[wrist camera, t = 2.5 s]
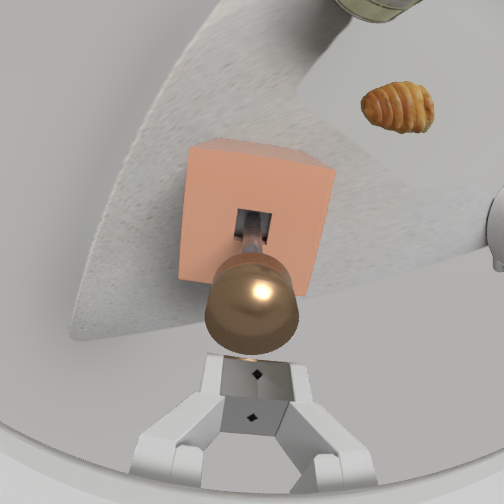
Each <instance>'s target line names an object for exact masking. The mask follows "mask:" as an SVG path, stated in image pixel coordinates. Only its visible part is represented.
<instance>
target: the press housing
mask: <svg viewBox="0 0 504 504" xmlns="http://www.w3.org/2000/svg"><path fill="white" fill-rule="evenodd" d="M335 173H336V170H335V169H333V168H331V167H329V166H328V165H326V164H324V163H322V162H321V161H319V160H317V159H315V158H313V157H311V156H310V155H308V154H306V153H304V152H302V151H299V150H293V149H288V148H282V147H277V146H271V145H265V144H258V143H252V142H245V141H238V140H230V139H223V138H215V139H212V140H209V141H206V142H203V143H200V144H197V145H194V146H191V147H190V150H189V158H188V166H187V175H186V185H185V195H184V206H183V217H182V230H181V243H180V259H179V276H178V279H182V280H188V281H195V282H201V283H208V284H212V281H213V277H214V274H215V272H216V271H217V269H218V268H219V266H220V265H221V264H222V263H223V262H224V261H226V260H227V259H229V258H230V257H232V256H235V255H237V254H241V253H242V243H243V238H241V237H234V232H235V225H236V218H237V212H238V208H239V209H246V210H253V211H260V212H266V213H271V217H270V222H269V227H268V233H267V238H266V241H262V247H263V253H264V254H267V255H270V256H272V257H274V258H275V259H277V260H278V261H279V262H281V263H282V264H283V265H284V266H285V268H286V269H287V271H288V272H289V274H290V277H291V280H292V285H293V289H294V294H295V295H296V296H306V293H307V289H308V286H309V282H310V278H311V274H312V271H313V267H314V263H315V259H316V255H317V251H318V247H319V243H320V239H321V235H322V231H323V227H324V223H325V218H326V214H327V210H328V205H329V201H330V196H331V192H332V187H333V183H334V178H335Z"/></svg>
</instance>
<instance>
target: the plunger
mask: <svg viewBox="0 0 504 504" xmlns="http://www.w3.org/2000/svg"><path fill="white" fill-rule="evenodd" d="M270 217H271V213H266V212H260V211H253V210H246V209H239V208H238V212H237V218H236V225H235V232H234V237H241V238H243V243H242V253H241V254H237V255H235V256H232V257H230V258H229V259H227V260H226V261H224V262H223V263H222V264H221V265H220V266H219V268H218V269H217V271H216V272H215V274H214V277H213V281H212V285H211V289H210V293H209V297H208V301H207V306H206V310H205V323H206V326H207V329H208V331H209V333H210V335H211V336H212V338H213V339H214V340H215V341H216V342H217V343H218V344H220V345H221V346H223V347H224V348H226V349H228V350H230V351H233V352H236V353H239V354H245V355H258V354H264V353H268V352H271V351H273V350H276V349H278V348H279V347H281V346H283V345H284V344H285V343H287V342H288V341H289V340H290V338H291V337H292V336H293V335H294V333H295V331H296V329H297V325H298V322H299V312H298V308H297V303H296V298H295V294H294V289H293V285H292V280H291V277H290V274H289V272H288V271H287V269H286V268H285V266H284V265H283V264H282V263H281V262H279V261H278V260H277V259H275V258H274V257H272V256H270V255H267V254H264V253H263V247H262V241H266V238H267V233H268V227H269V222H270Z"/></svg>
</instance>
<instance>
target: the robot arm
mask: <svg viewBox="0 0 504 504" xmlns="http://www.w3.org/2000/svg"><path fill="white" fill-rule="evenodd" d="M487 241H488V245H489V248H490V250H491V253H492V255H493V268H494V270H496V271H497V272H504V186H503V187H502V188H501V190H500V191H499V192H498V194H497V196H496V197H495V199H494V202H493V204H492V207H491V210H490V213H489V217H488V223H487ZM220 432H228V433H241V434H253V435H263V436H275V438H276V440H277V441H278V443H279V444H280V445H281V447H282V448H283V450H284V451H285V452H286V454H287V455H288V457H289V458H290V459H291V461H292V462H293V463H294V464H295V466H296V467H297V469H298V470H299V471H300V473H301V474H302V476H301V477H300V479H299V480H298V481H297V483H296V484H295V485H294V487H293V488H292V489H291V490H290V494H260V493H240V492H228V491H218V490H209V489H202V488H200V486H201V474H202V462H203V451H204V450H205V449H206V448H207V447H208V446H209V445H210V443H211V442H212V441H213V440H214V439H215V438H216V436H218V434H219V433H220ZM0 504H504V448H502V449H500V450H498V451H495V452H493V453H491V454H488V455H486V456H483V457H481V458H478V459H475V460H473V461H470V462H467V463H465V464H462V465H459V466H456V467H453V468H450V469H447V470H443V471H440V472H436V473H433V474H429V475H426V476H422V477H417V478H413V479H409V480H405V481H400V482H395V483H390V484H385V485H379V486H378V483H377V479H376V475H375V471H374V467H373V464H372V460H371V456H370V453H369V450H368V449H367V448H366V447H365V446H363V444H361V443H360V442H359V441H358V440H357V439H356V438H355V437H354V436H353V435H352V434H350V433H349V432H348V431H347V430H346V429H345V428H344V427H343V426H342V425H341V424H340V423H339V422H338V421H337V420H336V419H335V418H333V417H332V416H331V415H330V414H329V413H328V412H327V411H326V410H325V409H324V408H323V407H322V406H321V405H320V404H319V403H313V398H312V393H311V387H310V382H309V377H308V372H307V367H306V365H305V363H293V362H289V363H287V362H276V361H266V360H255V359H248V358H240V357H234V356H227V355H225V356H223V355H218V354H212V353H207V355H206V358H205V364H204V370H203V375H202V381H201V387H200V392H193V393H192V394H191V395H190V396H189V397H187V398H186V399H185V400H184V401H182V402H181V403H180V404H179V405H177V406H176V407H175V408H174V409H172V410H171V411H170V412H169V413H167V414H166V415H165V416H163V417H162V418H161V419H160V420H158V421H157V422H156V423H154V424H153V425H152V426H151V427H149V428H148V429H147V430H145V431H144V432H143V433H141V434H140V436H139V439H138V443H137V446H136V449H135V453H134V456H133V460H132V463H131V467H130V471H129V474H127V473H124V472H120V471H116V470H113V469H109V468H106V467H103V466H100V465H97V464H94V463H91V462H88V461H86V460H82V459H80V458H77V457H74V456H72V455H69V454H67V453H64V452H62V451H59V450H57V449H55V448H52V447H50V446H48V445H46V444H43V443H41V442H39V441H37V440H35V439H33V438H30V437H28V436H26V435H24V434H22V433H20V432H18V431H16V430H15V429H13V428H11V427H9V426H7V425H5V424H3V423H2V422H0Z"/></svg>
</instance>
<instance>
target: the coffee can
mask: <svg viewBox="0 0 504 504" xmlns="http://www.w3.org/2000/svg"><path fill="white" fill-rule="evenodd" d="M335 1H336V2H337V4H338V5H339V6H340V7H341V8H342V9H343V10H345V11H346V12H347V13H349V14H350V15H352V16H354V17H356V18H358V19H360V20H363V21H367V22H370V23H386V22H389V21H391V20H393V19H395V18H396V17H397V16H398V15H400V14H401V13H403V12H404V11H406V10H408V9H409V8H411V7H412V6H414V5H416V4H418V3H419V2H421V1H422V0H335Z"/></svg>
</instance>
